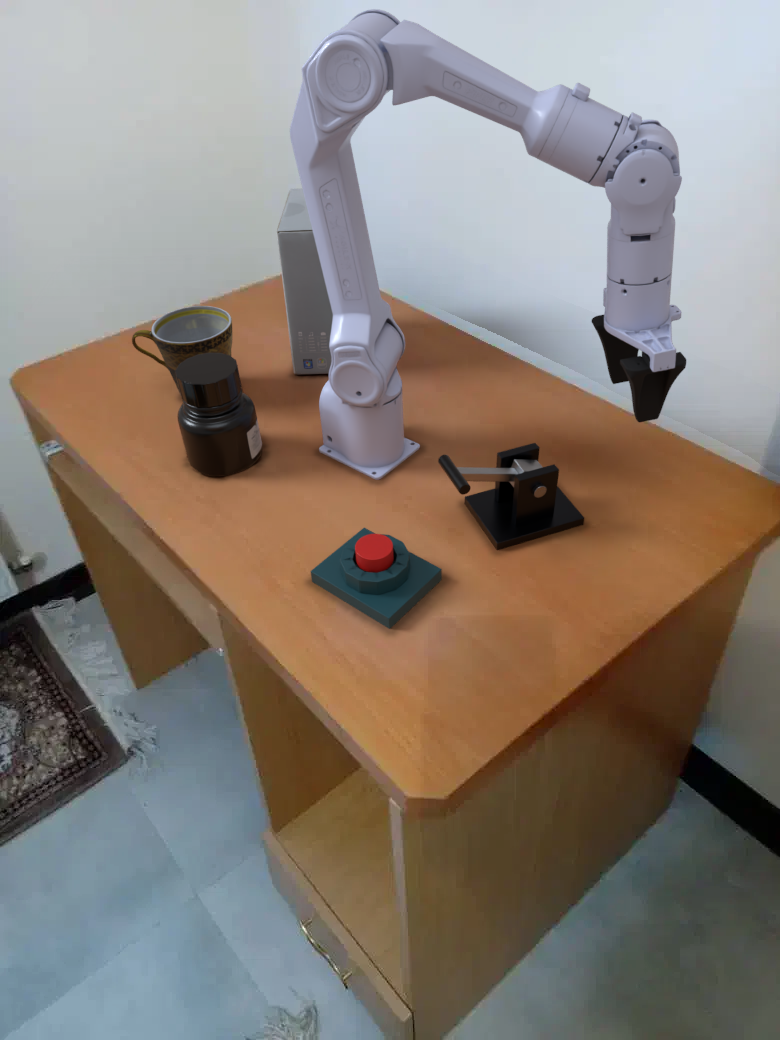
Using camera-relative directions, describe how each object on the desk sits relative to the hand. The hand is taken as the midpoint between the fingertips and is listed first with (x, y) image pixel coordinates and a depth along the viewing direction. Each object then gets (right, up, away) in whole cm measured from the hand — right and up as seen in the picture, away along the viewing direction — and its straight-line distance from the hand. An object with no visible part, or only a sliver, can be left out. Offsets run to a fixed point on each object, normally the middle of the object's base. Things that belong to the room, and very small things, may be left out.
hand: (633, 399), depth 81 cm
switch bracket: (-11, -12, +3) cm, 16 cm away
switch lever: (-15, -9, -1) cm, 17 cm away
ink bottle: (-45, -5, +14) cm, 47 cm away
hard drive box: (-34, +12, +32) cm, 49 cm away
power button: (-26, -16, -5) cm, 31 cm away
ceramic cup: (-51, +5, +25) cm, 57 cm away
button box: (-26, -18, -3) cm, 32 cm away
